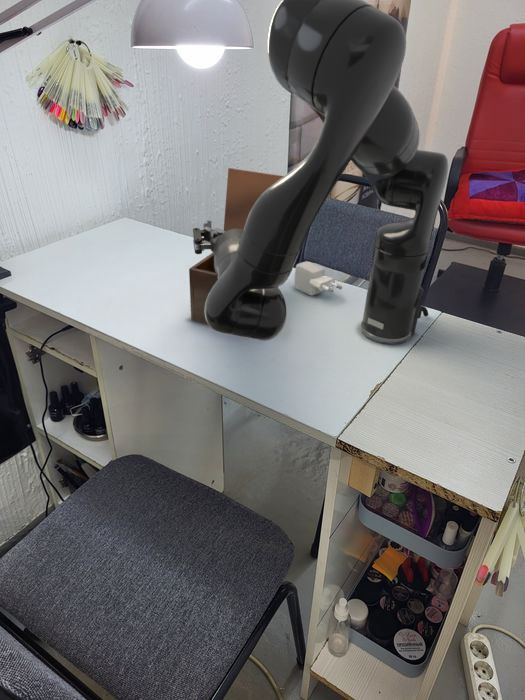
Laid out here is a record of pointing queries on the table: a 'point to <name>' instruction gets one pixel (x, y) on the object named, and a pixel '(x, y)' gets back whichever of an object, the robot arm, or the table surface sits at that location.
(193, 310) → the supply box
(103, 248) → the table surface
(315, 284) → the power adapter
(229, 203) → the lid
